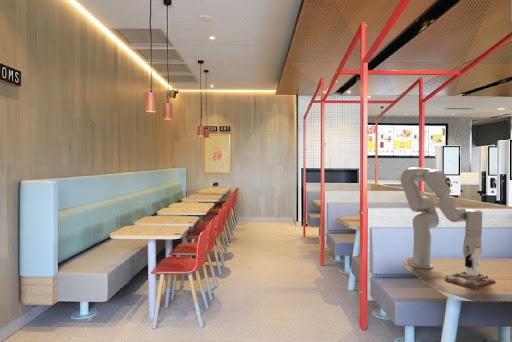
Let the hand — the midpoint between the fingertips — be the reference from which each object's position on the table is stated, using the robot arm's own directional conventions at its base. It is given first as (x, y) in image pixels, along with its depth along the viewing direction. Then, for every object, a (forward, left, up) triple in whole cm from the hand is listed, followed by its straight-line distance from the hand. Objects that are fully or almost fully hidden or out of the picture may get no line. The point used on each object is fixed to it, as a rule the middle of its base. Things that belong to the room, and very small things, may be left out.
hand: (472, 265), depth 195 cm
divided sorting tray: (+2, -5, -7) cm, 9 cm away
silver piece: (0, 0, -5) cm, 5 cm away
